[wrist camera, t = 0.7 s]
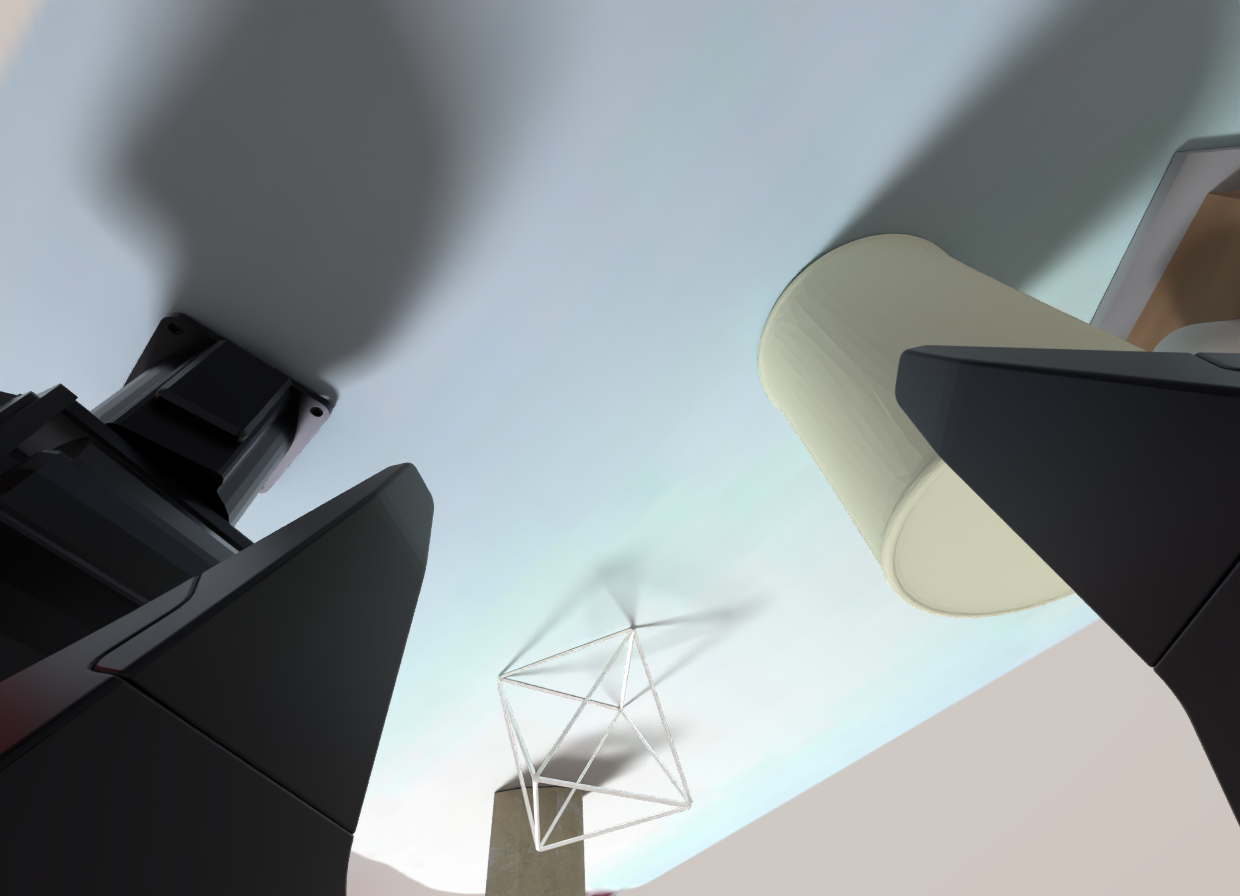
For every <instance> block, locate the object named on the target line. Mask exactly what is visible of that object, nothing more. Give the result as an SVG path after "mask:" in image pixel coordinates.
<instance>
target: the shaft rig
mask: <svg viewBox="0 0 1240 896" xmlns="http://www.w3.org/2000/svg"><path fill="white" fill-rule="evenodd" d="M1090 325H1092V326H1094V327H1096V328H1098V329H1101V330H1103V331H1105V332H1107V333H1109V334H1111V335H1113V336H1115V337H1118V338H1120V339H1122V340H1124V341H1126V342H1128V343H1130V344H1133V345H1135V346H1137V347H1139V348H1141V349H1144V350H1146V351H1148V352H1180V353H1191V354H1193V355H1195V354H1196V353H1199V352H1211V353H1240V146H1234V147H1224V148H1214V149H1203V150H1193V151H1183V152H1176V153H1175V155H1174V157H1173V159H1172V161H1171V163H1170V165H1169V167H1168V169H1167V171H1166V173H1165V175H1164V177H1163V179H1162V181H1161V183H1160V185H1159V187H1158V189H1157V191H1156V193H1155V195H1154V197H1153V199H1152V201H1151V203H1150V205H1149V207H1148V209H1147V211H1146V213H1145V215H1144V217H1143V219H1142V221H1141V223H1140V225H1139V227H1138V229H1137V231H1136V233H1135V235H1134V237H1133V239H1132V241H1131V243H1130V245H1129V247H1128V249H1127V251H1126V253H1125V255H1124V257H1123V259H1122V261H1121V263H1120V265H1119V267H1118V269H1117V271H1116V273H1115V275H1114V277H1113V279H1112V281H1111V283H1110V285H1109V287H1108V289H1107V291H1106V293H1105V295H1104V297H1103V299H1102V301H1101V303H1100V305H1099V307H1098V309H1097V311H1096V313H1095V315H1094V317H1093V319H1092V321H1091V323H1090Z"/></svg>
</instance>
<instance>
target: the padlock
mask: <svg viewBox="0 0 1240 896" xmlns="http://www.w3.org/2000/svg"><path fill="white" fill-rule="evenodd" d="M526 791H527V795H528V800H529V804H530V808H531V812H532V816H533V820H534V825H535V817H534V798H533V788H526ZM571 791H572V789H569V788H560V787H549V788H538V800H539V825H540V843H541V841H542V840H543V838H544V836H545V835H546V833H547V831H548V830H549V828H550V826H551V825H552V823H553V821H554V819H555V818H556V816H557V814H558V813H559V811H560V809H561V808H562V806H563V804H564V803H565V801H566V799H567V797H568V796H569V794H570V792H571ZM581 835H584V834H583V801H582V790H577V789H576V790H575V792H574V794H573V795H572V797H571V799H570V801H569V802H568V804H567V806H566V807H565V809H564V811H563V813H562V814H561V816H560V818H559V819H558V821H557V823H556V824H555V826H554V828H553V830H552V831H551V833H550V835H549V836H548V838H547V840H546V842H545V843H544V845H543V846H547V845H550V844H554V843H557V842H561V841H564V840H567V839H571V838H574V837H578V836H581ZM485 896H585V868H584V840H580V841H577V842H573V843H570V844H566V845H563V846H559V847H556V848H552V849H549V850H545V851H542V852H538V851H537V850H536V847H535V843H534V839H533V834H532V830H531V826H530V822H529V817H528V813H527V809H526V805H525V801H524V796H523V792H522V788H520V789H515V790H509V791H503V792H497V793H495V794H494V805H493V816H492V827H491V838H490V849H489V860H488V871H487V882H486V893H485Z"/></svg>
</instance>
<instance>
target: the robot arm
mask: <svg viewBox="0 0 1240 896" xmlns="http://www.w3.org/2000/svg"><path fill="white" fill-rule="evenodd" d="M174 323H177V324H179V325H180V326H181V327H182V328H183V330H184V331H182V330H180V329H178V328H177V327H176V326H175V324H174ZM895 397H896V401H897V403H898V405H899V406H900V408H901V409H902V410H903V411H904V413H905V414H906V415H907V417H908V418H909V419H910V420H911V422H912V423H913V424H914V426H915V427H916V428H917V429H918V431H919V432H920V433H921V434H922V436H923V437H924V438H925V440H926V441H927V442H928V443H929V445H930V446H931V447H932V449H933V450H934V451H935V452H936V453H937V454H938V456H939V457H940V458H941V459H942V460H943V461H944V462H945V463H946V464H947V465H948V466H949V467H950V468H951V469H952V470H953V471H954V472H955V473H956V474H957V475H958V476H959V477H960V478H961V479H962V480H963V481H964V482H965V483H966V484H967V485H968V486H969V487H970V488H971V489H972V490H973V491H974V492H975V493H976V494H977V495H978V496H979V497H980V498H981V499H982V500H983V501H984V502H985V503H986V504H987V505H988V506H989V507H990V508H991V509H992V510H993V511H994V512H995V513H996V514H997V515H998V516H999V517H1000V518H1001V519H1002V520H1003V521H1004V522H1005V523H1006V524H1007V525H1008V526H1009V527H1010V528H1011V529H1012V530H1013V531H1014V532H1015V533H1016V534H1017V535H1018V536H1019V537H1020V538H1021V539H1022V540H1023V541H1024V542H1025V543H1026V544H1027V545H1028V546H1029V547H1030V548H1031V549H1032V550H1033V551H1034V552H1035V553H1036V554H1037V555H1038V556H1039V557H1040V558H1041V559H1042V560H1043V561H1044V562H1045V563H1046V564H1047V565H1048V566H1049V567H1050V568H1051V569H1052V570H1053V571H1054V572H1055V573H1056V574H1057V575H1058V576H1059V577H1060V578H1061V579H1062V580H1063V581H1064V582H1065V583H1066V584H1067V585H1068V586H1069V587H1070V588H1071V589H1072V590H1073V591H1074V592H1075V593H1076V594H1077V595H1078V596H1079V597H1080V598H1081V599H1082V600H1083V601H1084V602H1085V603H1086V604H1087V605H1088V606H1089V607H1090V608H1091V609H1092V610H1093V611H1094V612H1095V613H1096V614H1097V615H1098V616H1099V617H1100V618H1101V619H1102V620H1103V621H1104V622H1105V623H1106V624H1107V625H1108V626H1109V627H1110V628H1111V629H1112V630H1113V631H1114V632H1115V633H1116V634H1117V635H1118V636H1119V637H1120V638H1121V639H1123V641H1124V642H1125V643H1126V644H1127V645H1128V646H1129V647H1130V648H1131V649H1132V650H1133V651H1134V652H1135V653H1137V655H1138V656H1140V658H1141V659H1142V660H1143V661H1144V662H1146V663H1147V665H1148V666H1150V667H1154V668H1153V670H1154V671H1155V673H1156V674H1157V675H1158V676H1159V677H1160V678H1161V679H1162V680H1163V681H1164V682H1165V683H1166V685H1167V686H1168V687H1169V688H1170V689H1171V691H1172V692H1173V693H1174V695H1175V696H1176V698H1177V699H1178V700H1179V702H1180V703H1181V705H1182V707H1183V708H1184V710H1185V711H1186V713H1187V715H1188V717H1189V719H1190V721H1191V723H1192V725H1193V727H1194V730H1195V732H1196V734H1197V736H1198V738H1199V740H1200V743H1201V745H1202V747H1203V749H1204V751H1205V753H1206V755H1207V757H1208V760H1209V762H1210V764H1211V766H1212V768H1213V770H1214V773H1215V775H1216V777H1217V779H1218V781H1219V783H1220V785H1221V788H1222V790H1223V792H1224V794H1225V796H1226V798H1227V800H1228V803H1229V805H1230V807H1231V809H1232V811H1233V813H1234V815H1235V818H1236V820H1237V822H1238V824H1239V826H1240V353H1211V352H1199V353H1196V354H1195V355H1193V354H1191V353H1180V352H1146V351H1113V350H1080V349H1046V348H1013V347H979V346H946V345H924V346H919V347H914V348H910V349H906V350H904V351H903V352H902V354H901V355H900V358H899V364H898V371H897V378H896V385H895ZM77 398H78V397H77V396H76V395H74V394H73V393H72V392H71V391H70V390H68V389H67V388H66V387H65V386H63V385H62V384H58V385H56V386H54V387H52V388H50V389H48V390H45V391H43V392H41V393H39V394H37V395H36V394H35V393H33V392H32V391H30V392H28V393H25V394H23V395H22V394H18V395H14V394H10V393H5V392H1V391H0V896H346V887H347V870H348V862H349V857H350V851H351V847H352V842H353V838H354V836H353V834H354V833H355V831H356V827H357V824H358V820H359V816H360V813H361V809H362V805H363V802H364V798H365V794H366V790H367V787H368V783H369V779H370V776H371V772H372V768H373V764H374V761H375V757H376V753H377V750H378V746H379V742H380V738H381V735H382V731H383V727H384V724H385V720H386V716H387V712H388V709H389V705H390V701H391V698H392V694H393V690H394V686H395V683H396V679H397V675H398V672H399V668H400V664H401V660H402V657H403V653H404V649H405V646H406V642H407V638H408V634H409V631H410V627H411V623H412V620H413V616H414V612H415V608H416V605H417V601H418V597H419V594H420V590H421V586H422V582H423V578H424V574H425V570H426V565H427V559H428V551H429V543H430V536H431V528H432V520H433V513H434V503H433V498H432V495H431V493H430V492H429V490H428V488H427V486H426V484H425V483H424V481H423V479H422V477H421V475H420V474H419V472H418V470H417V468H416V467H415V466H414V465H413V464H412V463H402V464H398V465H393V466H390V467H387V468H386V469H384V470H382V471H380V472H379V473H377V474H375V475H373V476H372V477H370V478H368V479H366V480H365V481H363V482H361V483H359V484H358V485H356V486H354V487H352V488H351V489H349V490H347V491H345V492H344V493H342V494H340V495H338V496H337V497H335V498H333V499H331V500H330V501H328V502H326V503H324V504H323V505H321V506H319V507H317V508H316V509H314V510H312V511H310V512H309V513H307V514H305V515H303V516H301V517H300V518H298V519H296V520H294V521H293V522H291V523H289V524H287V525H286V526H284V527H282V528H280V529H279V530H277V531H275V532H273V533H272V534H270V535H268V536H266V537H265V538H263V539H261V540H259V541H258V542H256V543H253V542H252V541H251V540H250V539H248V538H247V537H246V536H245V535H243V534H242V533H241V532H240V531H238V530H237V529H236V528H235V527H234V526H235V525H236V524H237V522H238V521H239V519H240V518H241V517H242V515H243V514H244V512H245V511H246V510H247V508H248V507H249V505H250V504H251V503H252V501H253V500H254V498H255V497H256V496H257V494H258V493H265V492H267V491H269V489H270V488H271V487H272V486H273V485H274V483H275V482H276V481H277V480H278V478H279V477H280V476H281V475H282V474H283V472H284V471H285V470H286V469H287V468H288V466H289V465H290V464H291V463H292V461H293V460H294V459H295V458H296V457H297V455H298V454H299V453H300V452H301V450H302V449H303V448H304V447H305V446H306V444H307V443H308V442H309V441H310V440H311V438H312V437H313V436H314V435H315V433H316V432H317V431H318V430H319V429H320V427H321V426H322V425H323V424H324V423H325V421H326V420H327V419H328V417H329V416H330V414H331V413H332V406H331V404H330V403H329V402H328V401H327V400H326V399H324V398H322V397H321V396H319V395H317V394H316V393H314V392H312V391H311V390H309V389H307V388H306V387H304V386H302V385H301V384H299V383H297V382H296V381H294V380H292V379H291V378H289V377H288V376H286V375H284V374H283V373H281V372H279V371H278V370H276V369H274V368H273V367H271V366H269V365H268V364H266V363H265V362H263V361H261V360H260V359H258V358H256V357H255V356H253V355H251V354H250V353H248V352H246V351H245V350H243V349H241V348H240V347H238V346H236V345H235V344H233V343H232V342H230V341H228V340H226V339H225V338H223V337H221V336H220V335H218V334H217V333H215V332H213V331H212V330H210V329H208V328H207V327H205V326H203V325H202V324H200V323H198V322H197V321H195V320H193V319H192V318H190V317H188V316H187V315H184V314H182V313H176V312H175V313H171V314H169V315H168V316H166V317H164V318H163V319H162V320H161V322H160V323H159V325H158V327H157V329H156V330H155V332H154V334H153V336H152V337H151V339H150V341H149V343H148V344H147V346H146V348H145V350H144V351H143V353H142V355H141V357H140V358H139V360H138V362H137V364H136V365H135V367H134V369H133V371H132V372H131V374H130V376H129V378H128V379H127V381H126V383H125V385H124V386H123V388H122V389H120V390H119V391H118V392H116V393H115V394H113V395H112V396H111V397H109V398H108V399H107V400H105V401H104V402H102V403H101V404H100V405H98V406H97V407H95V408H94V409H93V410H91V411H88V410H87V409H86V408H85V407H83V406H82V405H81V404H80V403H78V402H77V401H76V399H77ZM314 407H318V408H320V409H321V410H322V411H323V412H319V411H317V410H316V409H315V408H314Z"/></svg>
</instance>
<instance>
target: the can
mask: <svg viewBox="0 0 1240 896" xmlns="http://www.w3.org/2000/svg"><path fill="white" fill-rule="evenodd" d="M924 345H946V346H979V347H1013V348H1046V349H1080V350H1113V351H1146V350H1144V349H1141V348H1139V347H1137V346H1135V345H1133V344H1130V343H1128V342H1126V341H1124V340H1122V339H1120V338H1118V337H1115V336H1113V335H1111V334H1109V333H1107V332H1105V331H1103V330H1101V329H1098V328H1096V327H1094V326H1092V325H1090V324H1088V323H1086V322H1084V321H1081V320H1079V319H1077V318H1075V317H1073V316H1071V315H1069V314H1066V313H1064V312H1062V311H1060V310H1058V309H1056V308H1054V307H1052V306H1050V305H1047V304H1045V303H1043V302H1041V301H1039V300H1037V299H1035V298H1033V297H1031V296H1029V295H1027V294H1025V293H1023V292H1021V291H1019V290H1016V289H1014V288H1012V287H1010V286H1008V285H1006V284H1004V283H1002V282H1000V281H998V280H996V279H994V278H992V277H990V276H988V275H985V274H983V273H981V272H979V271H977V270H975V269H973V268H971V267H969V266H967V265H965V264H963V263H962V262H960V261H958V260H956V259H954V258H952V257H950V256H949V255H948V254H947V253H946V252H945V251H944V250H942V249H941V248H940V247H938V246H937V245H935V244H934V243H932V242H930V241H928V240H925V239H923V238H920V237H916V236H912V235H906V234H881V235H874V236H869V237H864V238H861V239H858V240H855V241H852V242H849V243H847V244H845V245H842V246H840V247H838V248H836V249H834V250H832V251H830V252H829V253H827V254H825V255H824V256H822V257H821V258H819V259H818V260H816V261H815V262H814V263H812V264H811V265H810V266H808V267H807V268H806V269H805V270H804V271H803V272H802V273H800V274H799V275H798V276H797V277H796V278H795V279H794V280H793V282H792V283H791V284H790V285H789V286H788V287H787V288H786V290H785V291H784V292H783V293H782V295H781V296H780V297H779V299H778V301H777V302H776V304H775V306H774V307H773V309H772V311H771V312H770V314H769V317H768V319H767V321H766V323H765V326H764V329H763V332H762V335H761V339H760V344H759V351H758V369H759V376H760V379H761V383H762V386H763V388H764V390H765V392H766V394H767V396H768V398H769V399H770V401H771V402H772V403H773V404H774V406H775V407H776V408H777V409H778V410H779V411H781V412H782V413H783V415H784V416H785V417H786V419H787V420H788V422H789V423H790V425H791V426H792V428H793V429H794V431H795V432H796V434H797V435H798V437H799V438H800V440H801V441H802V443H803V444H804V446H805V447H806V449H807V450H808V452H809V453H810V455H811V456H812V458H813V460H814V461H815V463H816V464H817V466H818V467H819V469H820V470H821V472H822V474H823V475H824V477H825V478H826V480H827V481H828V483H829V484H830V486H831V487H832V489H833V491H834V492H835V494H836V495H837V497H838V498H839V500H840V502H841V503H842V505H843V506H844V508H845V510H846V511H847V513H848V514H849V516H850V518H851V519H852V521H853V522H854V524H855V526H856V527H857V529H858V530H859V532H860V534H861V535H862V537H863V538H864V540H865V542H866V543H867V545H868V546H869V548H870V550H871V551H872V553H873V555H874V556H875V558H876V560H877V561H878V563H879V565H880V566H881V568H882V570H883V572H884V575H885V578H886V580H887V582H888V584H889V585H890V587H891V588H892V590H893V591H894V592H895V593H896V594H897V595H898V596H899V597H900V598H901V599H902V600H904V601H905V602H906V603H908V604H909V605H911V606H913V607H915V608H917V609H919V610H922V611H925V612H928V613H931V614H935V615H940V616H946V617H956V618H980V617H989V616H997V615H1003V614H1009V613H1015V612H1019V611H1023V610H1027V609H1031V608H1034V607H1038V606H1041V605H1045V604H1047V603H1050V602H1053V601H1056V600H1059V599H1062V598H1064V597H1067V596H1069V595H1072V594H1074V593H1075V592H1074V591H1073V590H1072V589H1071V588H1070V587H1069V586H1068V585H1067V584H1066V583H1065V582H1064V581H1063V580H1062V579H1061V578H1060V577H1059V576H1058V575H1057V574H1056V573H1055V572H1054V571H1053V570H1052V569H1051V568H1050V567H1049V566H1048V565H1047V564H1046V563H1045V562H1044V561H1043V560H1042V559H1041V558H1040V557H1039V556H1038V555H1037V554H1036V553H1035V552H1034V551H1033V550H1032V549H1031V548H1030V547H1029V546H1028V545H1027V544H1026V543H1025V542H1024V541H1023V540H1022V539H1021V538H1020V537H1019V536H1018V535H1017V534H1016V533H1015V532H1014V531H1013V530H1012V529H1011V528H1010V527H1009V526H1008V525H1007V524H1006V523H1005V522H1004V521H1003V520H1002V519H1001V518H1000V517H999V516H998V515H997V514H996V513H995V512H994V511H993V510H992V509H991V508H990V507H989V506H988V505H987V504H986V503H985V502H984V501H983V500H982V499H981V498H980V497H979V496H978V495H977V494H976V493H975V492H974V491H973V490H972V489H971V488H970V487H969V486H968V485H967V484H966V483H965V482H964V481H963V480H962V479H961V478H960V477H959V476H958V475H957V474H956V473H955V472H954V471H953V470H952V469H951V468H950V467H949V466H948V465H947V464H946V463H945V462H944V461H943V460H942V459H941V458H940V457H939V456H938V454H937V453H936V452H935V451H934V450H933V449H932V447H931V446H930V445H929V443H928V442H927V441H926V440H925V438H924V437H923V436H922V434H921V433H920V432H919V431H918V429H917V428H916V427H915V426H914V424H913V423H912V422H911V420H910V419H909V418H908V417H907V415H906V414H905V413H904V411H903V410H902V409H901V408H900V406H899V405H898V403H897V401H896V397H895V385H896V378H897V371H898V364H899V358H900V355H901V354H902V352H903V351H904V350H906V349H910V348H914V347H919V346H924ZM1146 352H1148V351H1146Z"/></svg>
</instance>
